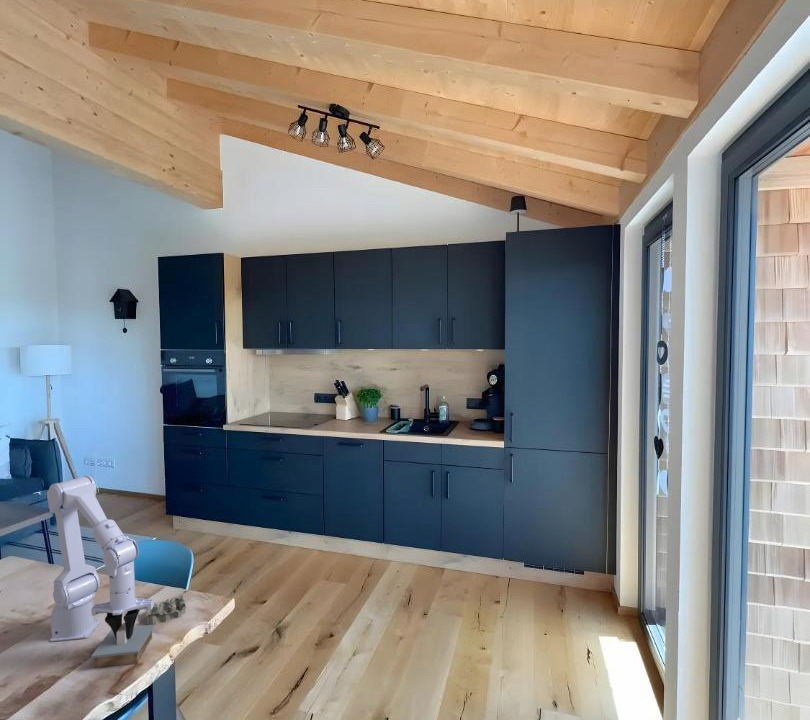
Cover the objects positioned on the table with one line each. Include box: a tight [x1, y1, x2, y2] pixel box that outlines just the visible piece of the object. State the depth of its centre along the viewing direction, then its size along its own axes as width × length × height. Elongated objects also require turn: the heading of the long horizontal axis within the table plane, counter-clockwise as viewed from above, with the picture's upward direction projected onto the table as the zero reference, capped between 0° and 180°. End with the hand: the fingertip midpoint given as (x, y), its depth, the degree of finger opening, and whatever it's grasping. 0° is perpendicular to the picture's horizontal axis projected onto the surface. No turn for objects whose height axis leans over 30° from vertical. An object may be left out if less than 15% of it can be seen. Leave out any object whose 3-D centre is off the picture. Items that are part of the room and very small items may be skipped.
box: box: [94, 631, 153, 669], centre depth 124 cm, size 10×10×3 cm
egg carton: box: [144, 594, 187, 626], centre depth 140 cm, size 11×8×4 cm
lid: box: [90, 622, 155, 659], centre depth 124 cm, size 11×11×4 cm
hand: (124, 637), depth 124 cm, fingers closed on lid, 2 cm apart
